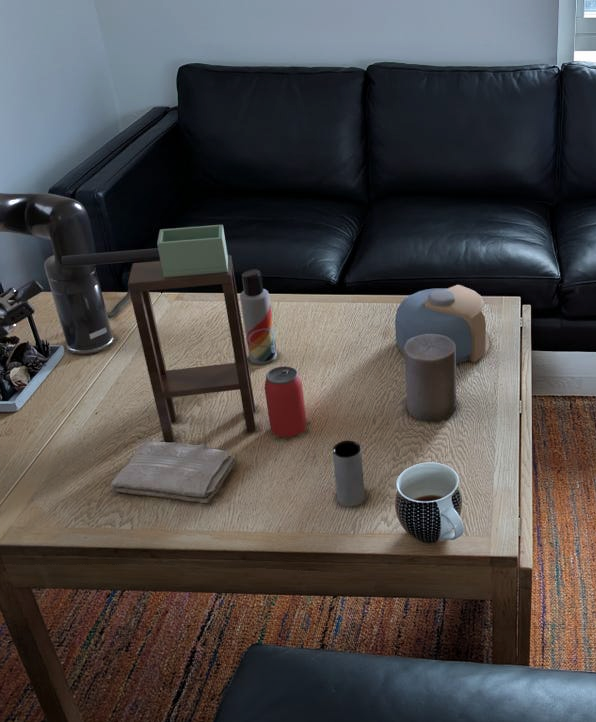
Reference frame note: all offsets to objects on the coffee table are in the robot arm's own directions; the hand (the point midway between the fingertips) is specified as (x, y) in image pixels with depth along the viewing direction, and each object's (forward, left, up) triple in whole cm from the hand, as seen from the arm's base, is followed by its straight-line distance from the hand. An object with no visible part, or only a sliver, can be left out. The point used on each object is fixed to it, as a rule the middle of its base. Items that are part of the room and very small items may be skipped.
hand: (35, 295), depth 135 cm
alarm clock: (-19, +71, -30) cm, 79 cm away
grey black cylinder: (+27, +46, -30) cm, 61 cm away
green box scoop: (+1, +18, +3) cm, 18 cm away
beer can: (+5, +37, -30) cm, 48 cm away
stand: (+1, +23, -29) cm, 37 cm away
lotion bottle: (-22, +33, -30) cm, 49 cm away
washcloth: (+15, +18, -30) cm, 38 cm away
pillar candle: (+4, +64, -30) cm, 71 cm away
